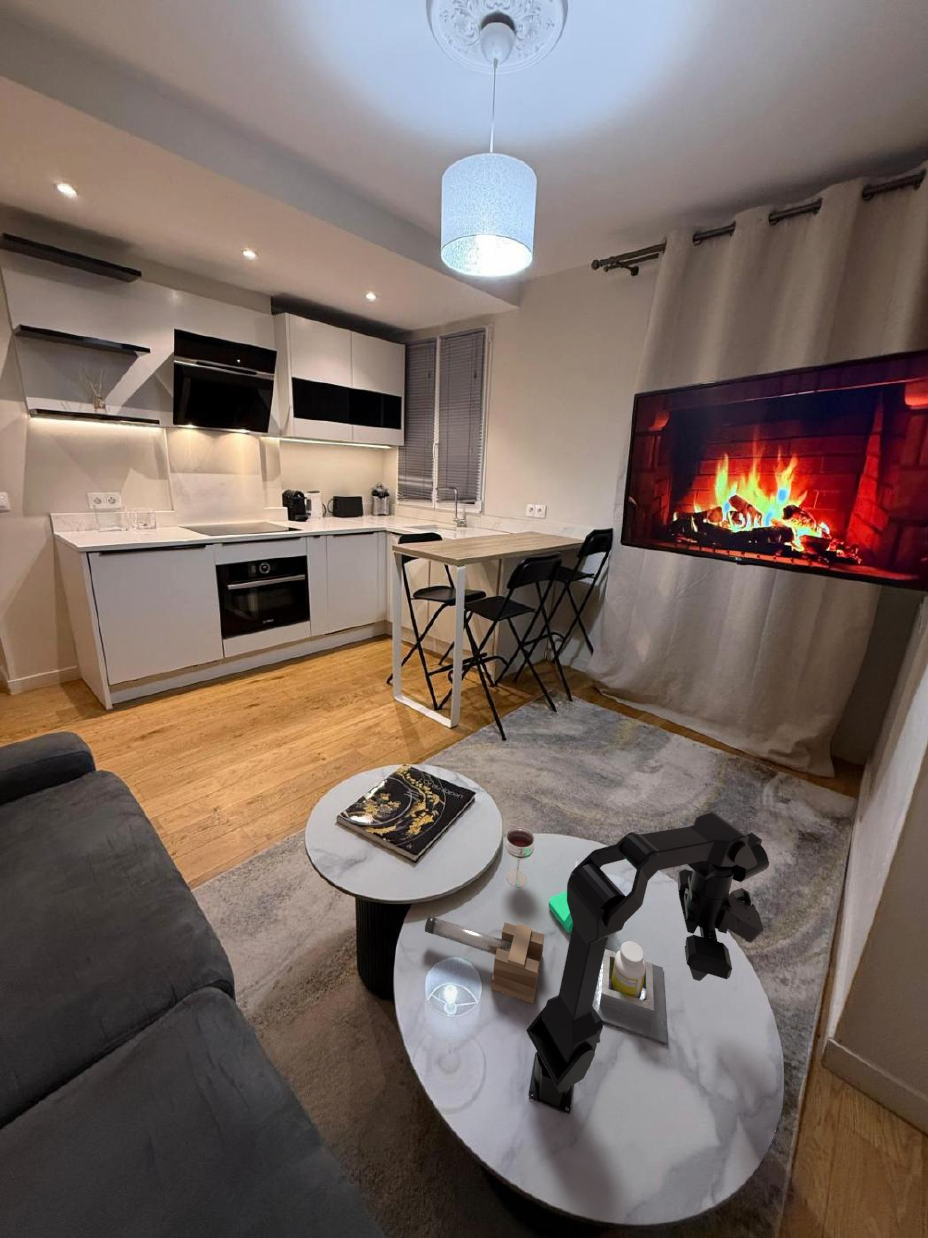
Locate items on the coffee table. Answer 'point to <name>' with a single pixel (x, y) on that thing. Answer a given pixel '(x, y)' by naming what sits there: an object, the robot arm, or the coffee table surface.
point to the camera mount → (561, 910)
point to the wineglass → (519, 852)
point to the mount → (518, 962)
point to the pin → (465, 936)
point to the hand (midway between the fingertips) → (693, 954)
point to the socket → (633, 1002)
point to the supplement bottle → (629, 970)
